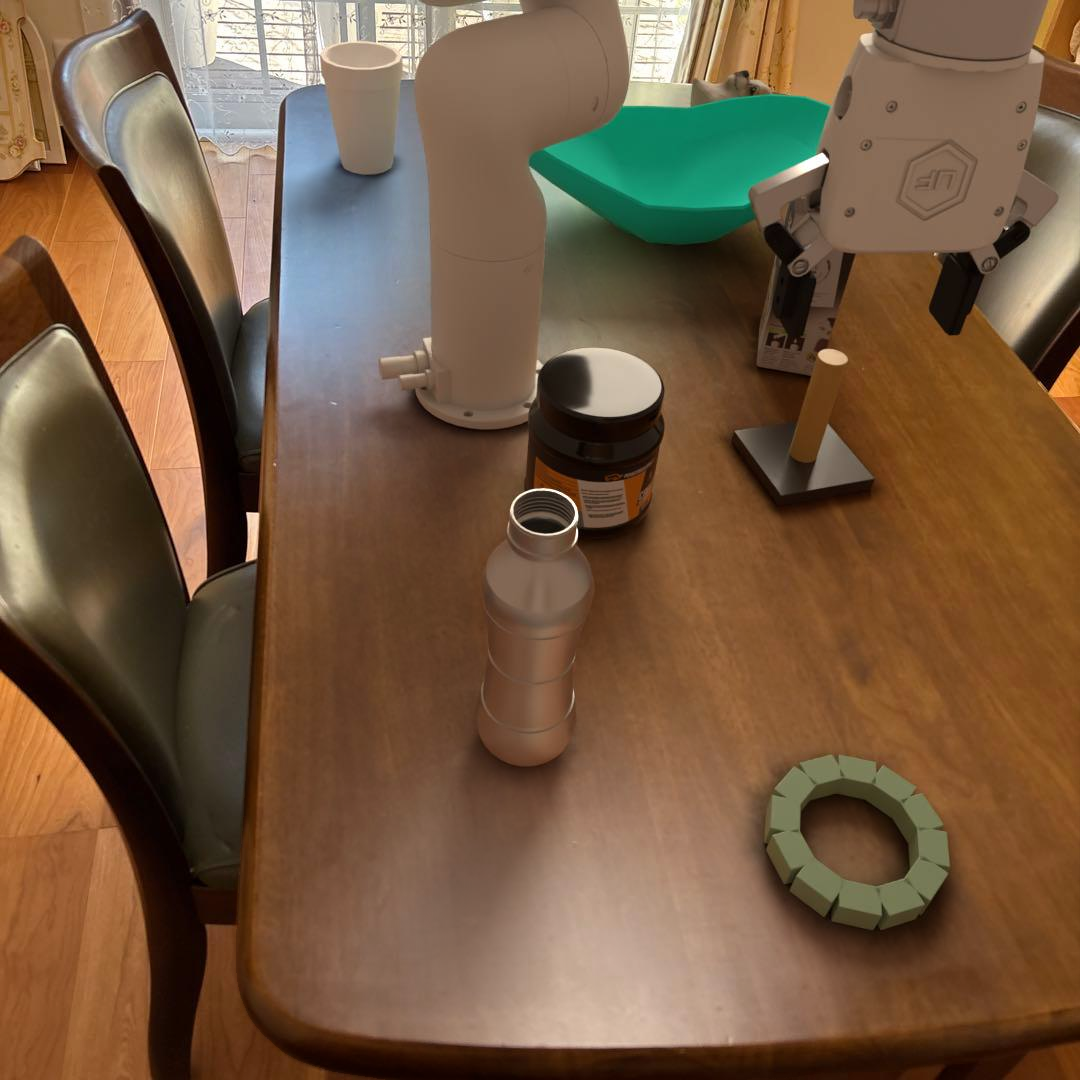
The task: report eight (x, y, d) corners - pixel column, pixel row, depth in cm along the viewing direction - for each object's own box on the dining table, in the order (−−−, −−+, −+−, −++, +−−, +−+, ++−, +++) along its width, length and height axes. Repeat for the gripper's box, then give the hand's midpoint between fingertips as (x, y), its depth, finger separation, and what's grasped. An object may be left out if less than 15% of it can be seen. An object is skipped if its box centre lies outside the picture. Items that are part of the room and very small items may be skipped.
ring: (817, 950, 58) (826, 936, 56) (735, 793, 65) (741, 777, 64) (974, 900, 61) (985, 886, 59) (879, 755, 68) (887, 739, 66)
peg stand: (778, 506, 85) (811, 396, 78) (731, 441, 91) (757, 333, 84) (871, 489, 88) (911, 381, 80) (819, 427, 94) (852, 321, 86)
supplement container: (606, 564, 79) (624, 442, 71) (496, 507, 83) (502, 385, 75) (672, 495, 86) (697, 375, 77) (568, 445, 90) (581, 326, 81)
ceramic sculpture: (688, 51, 139) (792, 61, 142) (674, 115, 145) (774, 124, 148) (704, 81, 132) (814, 91, 134) (689, 147, 138) (794, 155, 140)
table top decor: (785, 178, 133) (810, 72, 124) (857, 286, 113) (893, 170, 104) (481, 174, 128) (484, 64, 119) (500, 288, 108) (505, 165, 99)
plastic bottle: (569, 696, 70) (600, 471, 56) (575, 782, 65) (611, 558, 51) (475, 695, 69) (482, 467, 55) (473, 781, 64) (481, 555, 51)
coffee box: (820, 378, 100) (867, 223, 89) (754, 367, 100) (792, 212, 89) (820, 330, 106) (864, 180, 95) (758, 320, 107) (794, 170, 96)
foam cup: (321, 152, 130) (312, 44, 121) (391, 144, 133) (388, 38, 124) (340, 184, 124) (332, 72, 115) (414, 175, 127) (411, 66, 118)
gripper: (809, 38, 46) (742, 363, 58) (1165, 43, 48) (1030, 356, 59) (764, -9, 51) (711, 296, 63) (1085, -3, 53) (976, 292, 65)
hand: (866, 325), depth 61 cm, fingers open, 9 cm apart
